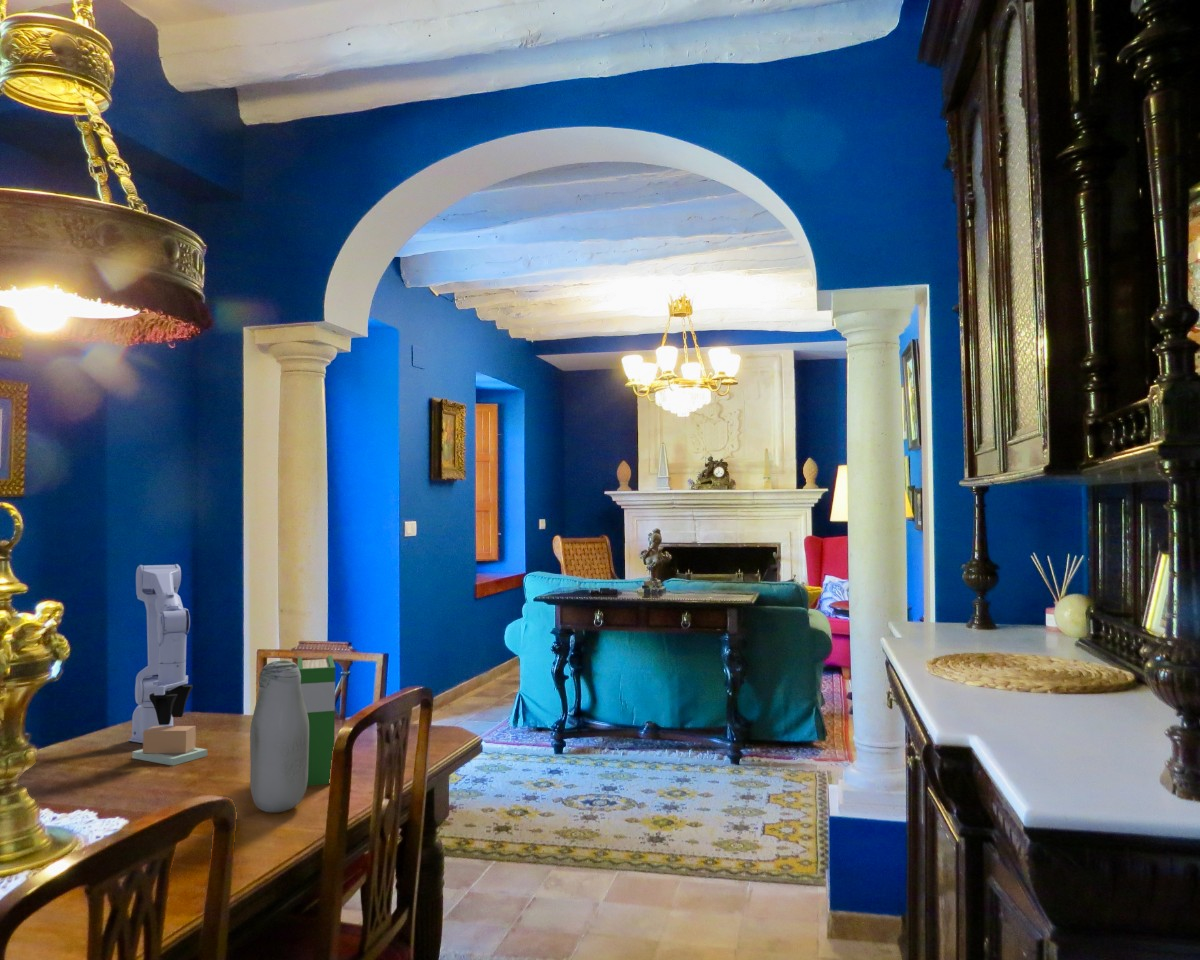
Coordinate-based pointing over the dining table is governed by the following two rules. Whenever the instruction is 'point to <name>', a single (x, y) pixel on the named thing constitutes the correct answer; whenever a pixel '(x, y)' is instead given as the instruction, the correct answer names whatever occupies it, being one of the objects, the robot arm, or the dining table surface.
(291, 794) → the gray bottle
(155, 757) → the header board
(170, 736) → the block
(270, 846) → the dining table surface
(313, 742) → the hardback book
